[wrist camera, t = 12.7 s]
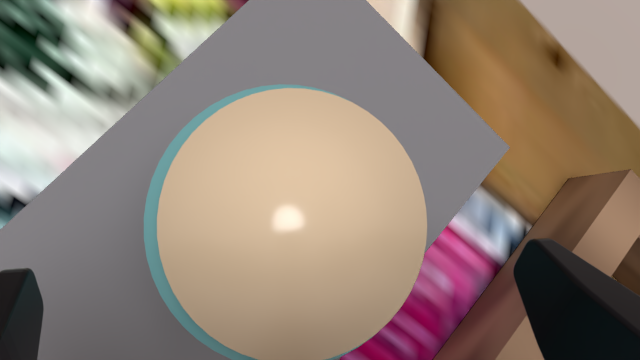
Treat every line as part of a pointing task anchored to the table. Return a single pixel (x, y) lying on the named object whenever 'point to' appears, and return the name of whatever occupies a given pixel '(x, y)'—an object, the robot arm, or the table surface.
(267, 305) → the teal jar
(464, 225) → the table surface
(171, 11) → the table surface
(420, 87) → the gray rectangular panel
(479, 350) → the walnut frame
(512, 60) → the table surface
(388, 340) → the table surface
